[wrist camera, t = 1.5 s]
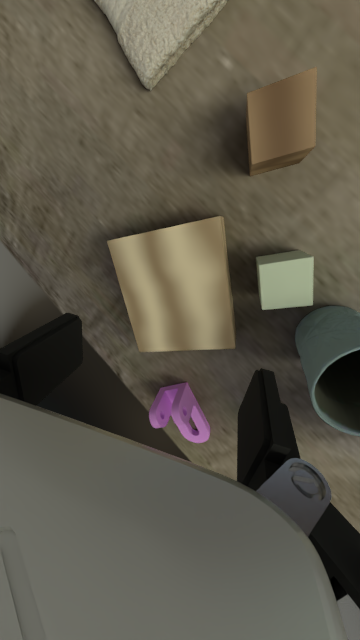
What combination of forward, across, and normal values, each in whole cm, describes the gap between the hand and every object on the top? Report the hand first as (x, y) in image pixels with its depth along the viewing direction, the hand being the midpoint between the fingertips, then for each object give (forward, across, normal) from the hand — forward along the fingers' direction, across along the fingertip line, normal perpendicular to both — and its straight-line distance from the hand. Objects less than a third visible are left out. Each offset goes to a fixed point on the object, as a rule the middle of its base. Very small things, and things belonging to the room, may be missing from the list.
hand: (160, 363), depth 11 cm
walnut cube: (+22, -3, -15) cm, 27 cm away
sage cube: (+22, -8, -2) cm, 23 cm away
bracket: (+22, -2, +26) cm, 34 cm away
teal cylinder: (+22, -17, +4) cm, 28 cm away
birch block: (+22, +4, +3) cm, 23 cm away
